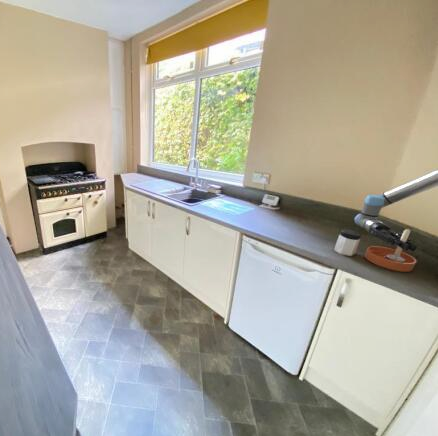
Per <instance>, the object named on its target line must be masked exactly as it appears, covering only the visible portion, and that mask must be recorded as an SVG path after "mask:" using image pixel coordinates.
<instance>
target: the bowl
mask: <svg viewBox="0 0 438 436" xmlns="http://www.w3.org/2000/svg"><path fill="white" fill-rule="evenodd" d="M395 250H396V249H394V248H390V247H386V246H380V245H379V246H378V245H371V246H368V247H367V248H366V250H365V253H364V258H365V259H366V260H367V261H369V262H370V263H372V264H374V265H377V266H379V267H381V268H385V269H389V270H392V271H397V272H405V273H406V272H412V271H413V270H414V269H415V266H416V264H417V262H418V261H417V259H416V258H415V257H413V256H412V255H410V254H408V253H406V252H403V251H402V252H401V254H400V256H399V257H401V258H403V259H405V261H404V263H401V262H396V261H391V260H388V259H385V258H386V255H388V254H390V255H394V253H395Z"/></svg>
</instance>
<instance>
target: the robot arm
mask: <svg viewBox="0 0 438 436" xmlns="http://www.w3.org/2000/svg"><path fill="white" fill-rule="evenodd" d="M436 187H438V168H437V169H435V170H433V171H430V172H427V173H426V174H424V175H421V176H419V177H416V178H414V179H412V180H410V181H407V182H405V183H402V184H401V185H397V186H395V187H394V188H391V189H389V190H387V191H384V192H382V193H379V194H376V195H375V194H369V195H367V196H366V198H365V199H364V203H363V206H362V209H361V212H360V213H358V214H357V215H356V216H355V217H354V219H353V220H354V223H355V224H356V225H357V226H358V227H359V228H362V229H363V230H365V231H367V232H368V233H370V235H371V236H374V237H376V238H377V239H379V240H382V241H383V242H385V243H388V244H390V245H391V246H395V245H396V247H397V246H399V247H401V248H402V250H404V251H411V252H416V251H417V250H416V249H417V247H418V246H417V245H416V244H414V243H412V239H411V238H410V237H408V238H407V241H406V243H405V242H403V241H401V240H400V239H401V237H402V235H403V232H398V233H397V232H395V231H393V230H391V227H390V226H389V225H388V224H386V223H384V222H382V221H381V220H378V218H379V215H380V212H381V211H382V209H383V208H385V207H388V206H390V205H393V204H395V203H398V202H400V201H403V200H405V199H408V198H410V197H413V196H416V195H418V194H421V193H423V192H426V191H429V190H431V189H434V188H436Z"/></svg>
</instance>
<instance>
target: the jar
mask: <svg viewBox="0 0 438 436" xmlns="http://www.w3.org/2000/svg"><path fill="white" fill-rule="evenodd" d="M361 237H362V233H361V232H359V231H357V230H353V229H348V228H343V229H341V231H340V234H338V238H337V240H336V243H335V246H334V249H333V250H334V251H335V252H337V253H338V254H340V255H344V256H350V257H352V256H354V255H356V252H357V249H358V246H359V245H360V241H361Z"/></svg>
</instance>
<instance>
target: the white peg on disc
mask: <svg viewBox="0 0 438 436" xmlns="http://www.w3.org/2000/svg"><path fill="white" fill-rule="evenodd" d="M402 233H403V235H402V237H401V239H400V240H401V241H403V242H405V243H406V241H407V238H409V236H410V233H411V229H410V228H409V229H404V230H403V232H402ZM394 250H395V253H394V255H390V254H388V255H386V258H385V259H388V260H391V261H396V262H401V263H404V261H405V259H403V258H401V257H399V256H400V254H401V252H403V249H402V248H401V247H399V246H397V245H396V248H395V249H394Z"/></svg>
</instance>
